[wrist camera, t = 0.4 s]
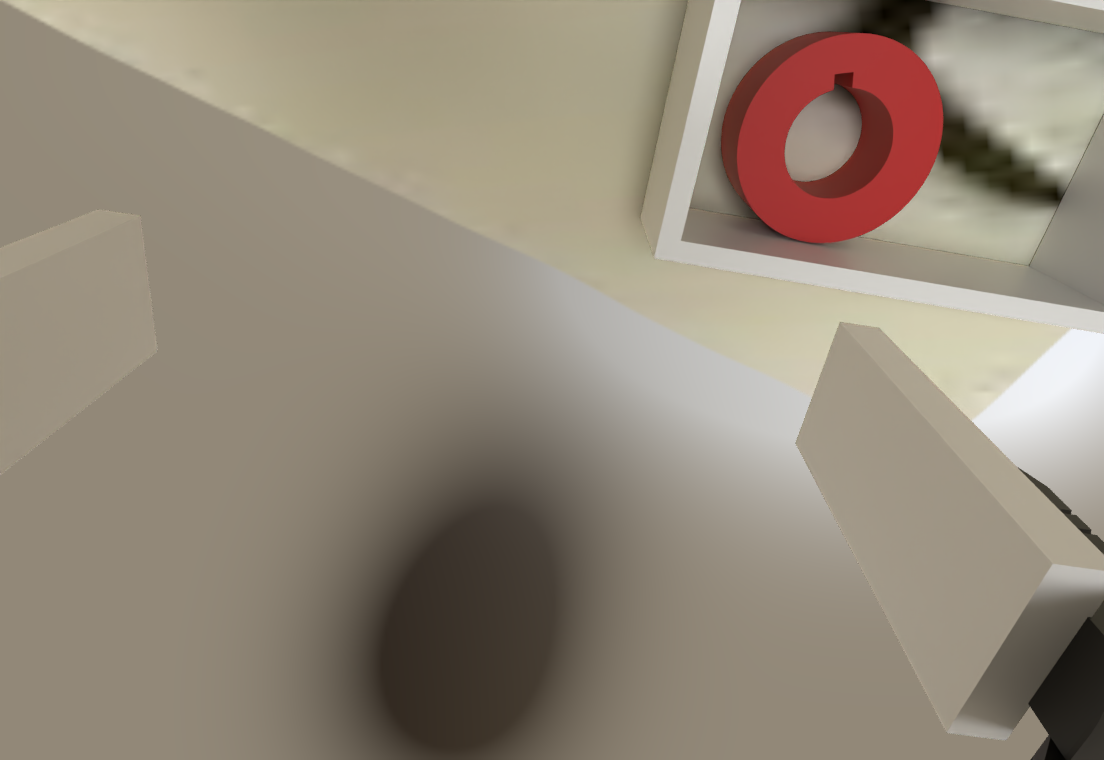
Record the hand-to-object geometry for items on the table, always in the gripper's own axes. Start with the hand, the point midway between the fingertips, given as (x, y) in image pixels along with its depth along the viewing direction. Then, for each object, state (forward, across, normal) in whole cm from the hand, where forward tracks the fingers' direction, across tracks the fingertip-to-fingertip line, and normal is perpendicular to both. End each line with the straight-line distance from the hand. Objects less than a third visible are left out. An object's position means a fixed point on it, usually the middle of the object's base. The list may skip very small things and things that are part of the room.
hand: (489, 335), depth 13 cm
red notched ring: (+29, +13, +6) cm, 32 cm away
